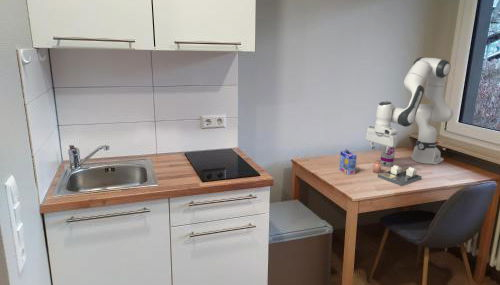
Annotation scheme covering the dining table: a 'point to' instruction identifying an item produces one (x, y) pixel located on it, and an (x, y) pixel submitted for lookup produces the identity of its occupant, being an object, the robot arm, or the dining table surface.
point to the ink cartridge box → (347, 162)
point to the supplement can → (387, 156)
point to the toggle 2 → (411, 171)
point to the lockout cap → (377, 167)
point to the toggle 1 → (395, 170)
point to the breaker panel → (399, 177)
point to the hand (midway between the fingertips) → (379, 150)
